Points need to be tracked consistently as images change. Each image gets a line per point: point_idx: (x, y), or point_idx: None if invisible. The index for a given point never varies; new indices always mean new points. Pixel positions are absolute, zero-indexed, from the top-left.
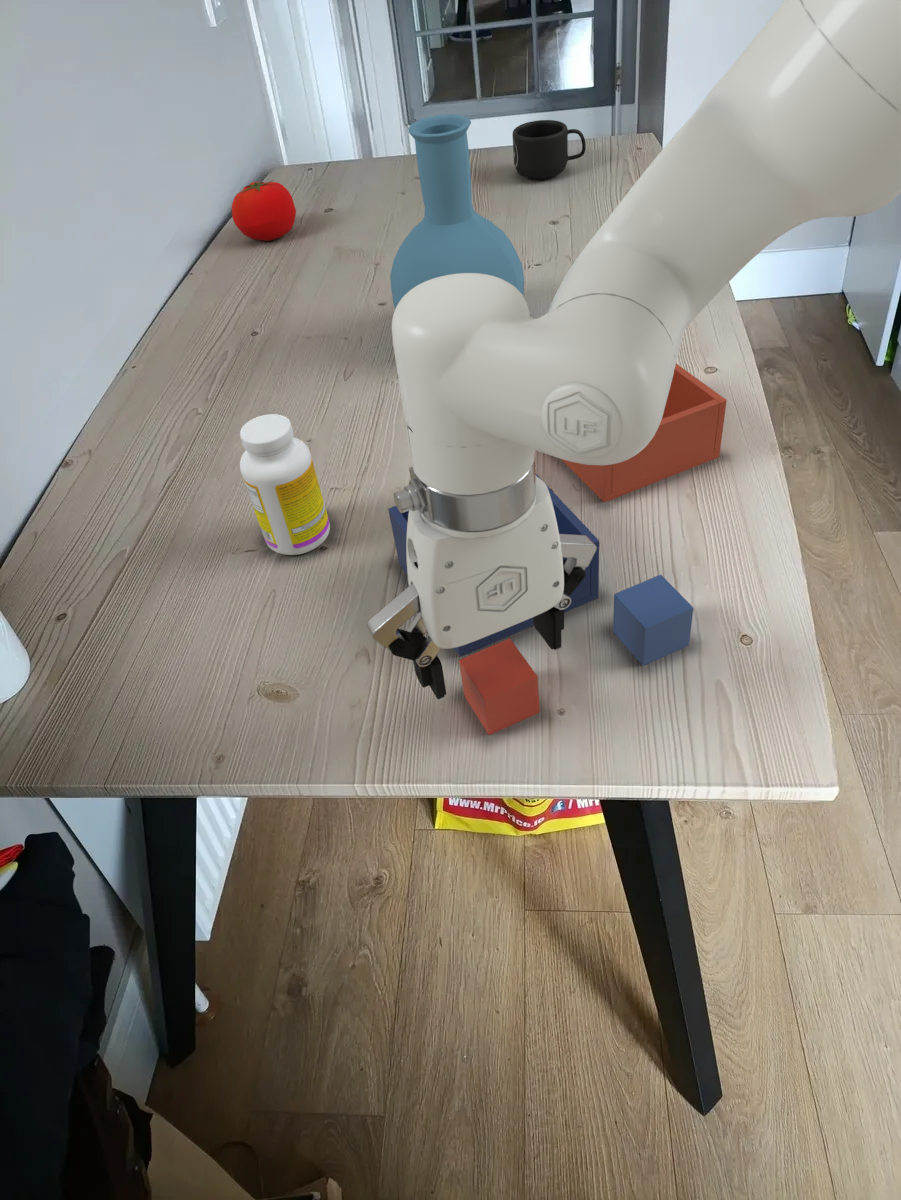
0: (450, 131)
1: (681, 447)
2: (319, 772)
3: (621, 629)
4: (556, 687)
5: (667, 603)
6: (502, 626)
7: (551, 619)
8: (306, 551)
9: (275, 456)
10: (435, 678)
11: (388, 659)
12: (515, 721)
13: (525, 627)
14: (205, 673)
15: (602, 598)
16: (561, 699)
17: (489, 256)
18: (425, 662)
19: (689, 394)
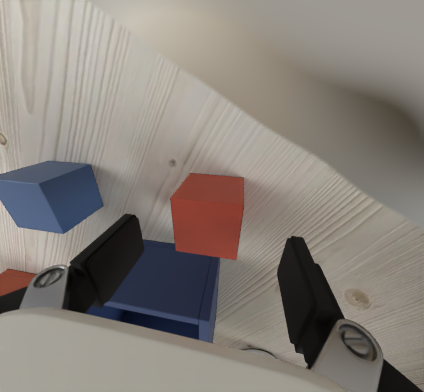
0: None
1: (9, 292)
2: (400, 229)
3: (88, 202)
4: (165, 187)
5: (12, 197)
6: (155, 361)
7: (95, 259)
8: (260, 352)
9: None
10: (320, 277)
11: (267, 276)
12: (214, 176)
13: (163, 243)
14: (385, 333)
15: (102, 232)
16: (166, 174)
17: None
18: (352, 332)
19: None
